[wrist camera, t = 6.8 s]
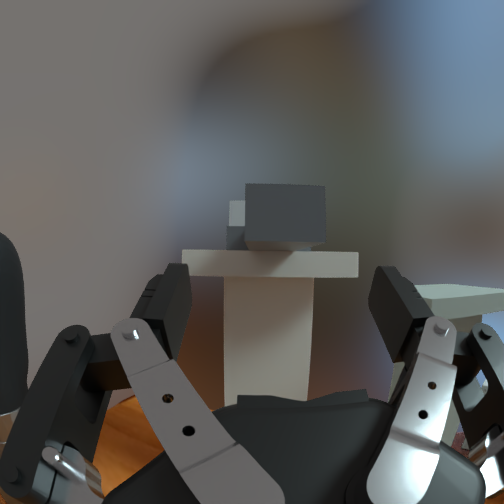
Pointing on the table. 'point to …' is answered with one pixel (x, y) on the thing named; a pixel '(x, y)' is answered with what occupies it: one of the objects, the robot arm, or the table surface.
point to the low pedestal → (456, 324)
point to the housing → (277, 218)
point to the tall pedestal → (268, 315)
